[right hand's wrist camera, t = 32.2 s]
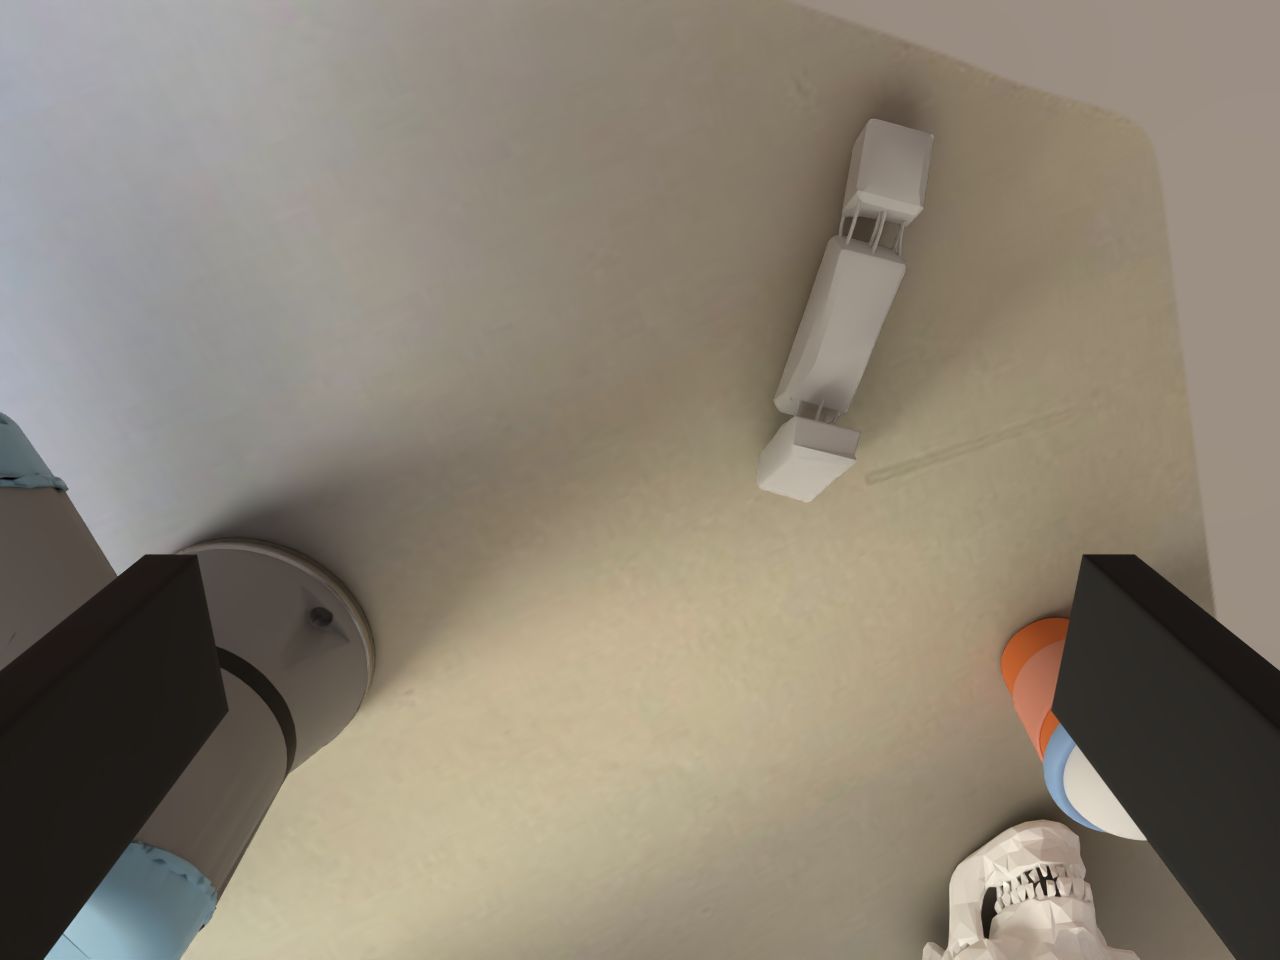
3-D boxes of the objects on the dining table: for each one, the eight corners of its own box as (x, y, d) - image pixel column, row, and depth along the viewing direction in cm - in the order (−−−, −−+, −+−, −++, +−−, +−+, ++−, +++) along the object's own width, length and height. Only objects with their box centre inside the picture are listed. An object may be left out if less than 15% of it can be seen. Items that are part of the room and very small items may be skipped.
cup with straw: (1129, 592, 53) (1356, 793, 36) (1108, 713, 56) (1308, 950, 40) (983, 599, 53) (1141, 802, 36) (971, 719, 57) (1111, 958, 40)
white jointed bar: (808, 495, 50) (838, 532, 44) (748, 481, 50) (768, 517, 43) (916, 144, 45) (967, 126, 39) (849, 126, 45) (890, 105, 38)
